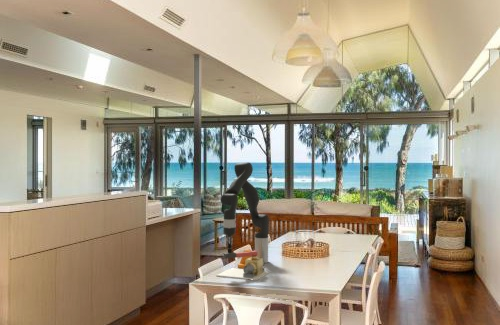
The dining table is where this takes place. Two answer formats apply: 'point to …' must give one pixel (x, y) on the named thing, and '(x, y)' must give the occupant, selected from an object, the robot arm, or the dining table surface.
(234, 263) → the dining table surface
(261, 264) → the valve
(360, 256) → the dining table surface
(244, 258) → the bracket
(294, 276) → the dining table surface
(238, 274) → the base plate
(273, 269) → the dining table surface
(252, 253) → the lever
